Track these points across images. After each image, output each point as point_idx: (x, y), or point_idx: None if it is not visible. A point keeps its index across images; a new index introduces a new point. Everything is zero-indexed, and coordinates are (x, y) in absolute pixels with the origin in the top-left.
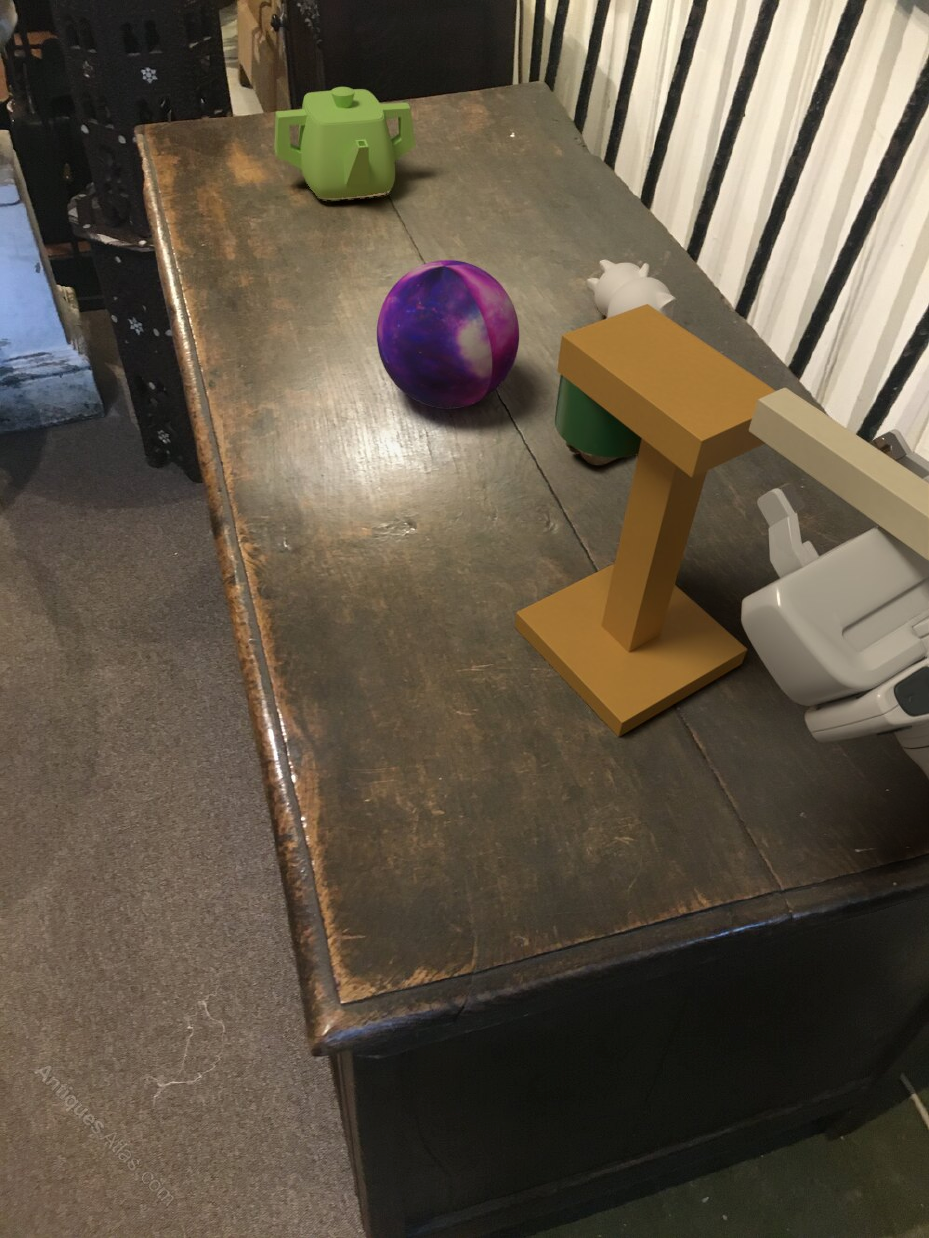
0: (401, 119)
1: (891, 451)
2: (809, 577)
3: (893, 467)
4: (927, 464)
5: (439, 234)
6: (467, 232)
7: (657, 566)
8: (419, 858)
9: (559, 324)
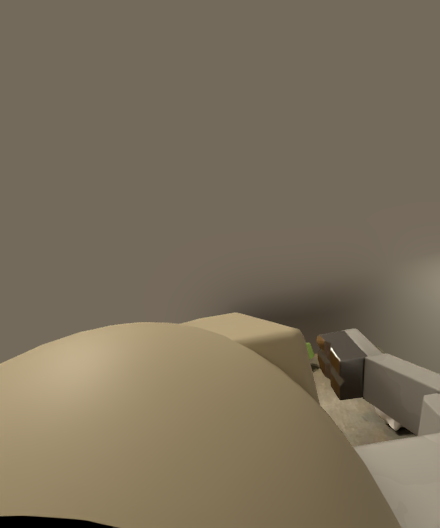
0: (307, 347)
1: (332, 350)
2: None
3: (225, 317)
4: (425, 374)
5: (317, 382)
6: (328, 381)
7: None
8: None
9: (356, 414)
